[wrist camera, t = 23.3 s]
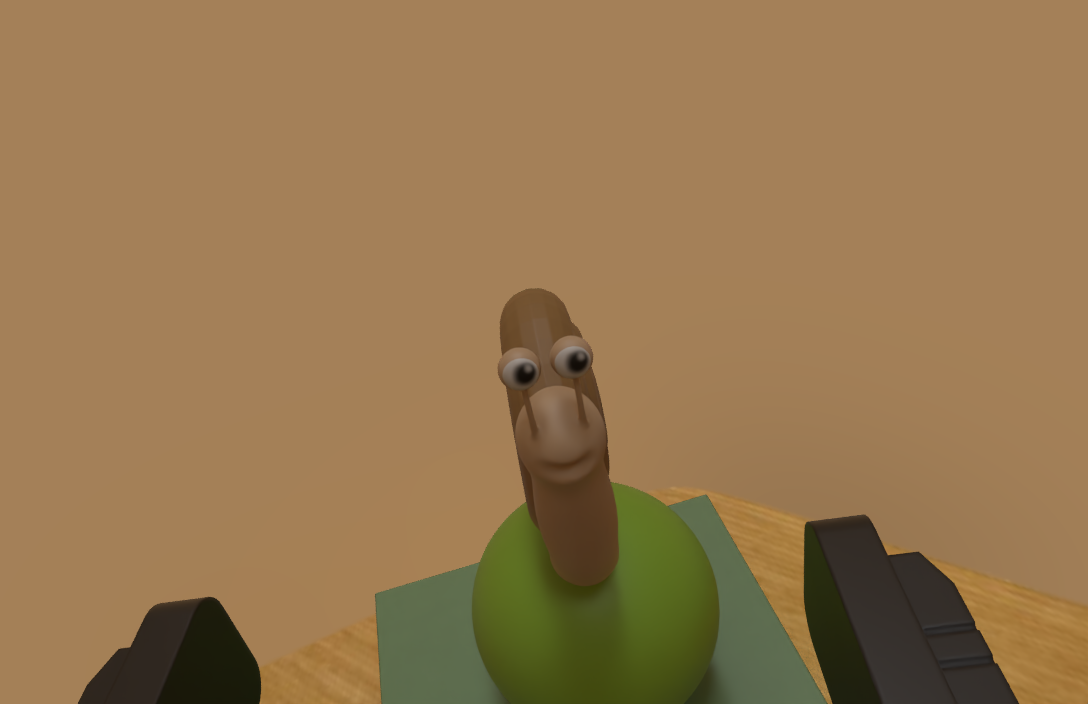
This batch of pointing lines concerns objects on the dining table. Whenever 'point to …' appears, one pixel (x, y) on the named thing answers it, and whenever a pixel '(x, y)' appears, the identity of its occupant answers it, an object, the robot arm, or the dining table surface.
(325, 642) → the dining table surface
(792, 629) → the dining table surface
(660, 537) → the snail figurine
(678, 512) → the green block
